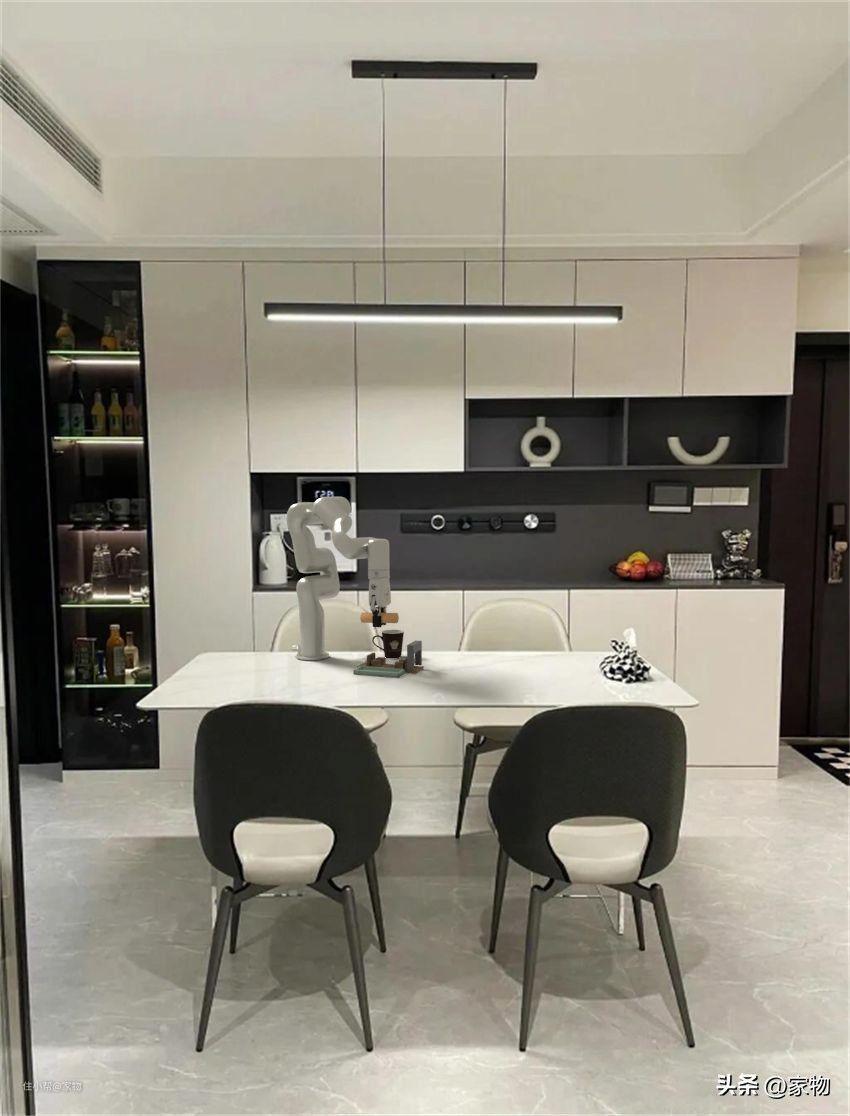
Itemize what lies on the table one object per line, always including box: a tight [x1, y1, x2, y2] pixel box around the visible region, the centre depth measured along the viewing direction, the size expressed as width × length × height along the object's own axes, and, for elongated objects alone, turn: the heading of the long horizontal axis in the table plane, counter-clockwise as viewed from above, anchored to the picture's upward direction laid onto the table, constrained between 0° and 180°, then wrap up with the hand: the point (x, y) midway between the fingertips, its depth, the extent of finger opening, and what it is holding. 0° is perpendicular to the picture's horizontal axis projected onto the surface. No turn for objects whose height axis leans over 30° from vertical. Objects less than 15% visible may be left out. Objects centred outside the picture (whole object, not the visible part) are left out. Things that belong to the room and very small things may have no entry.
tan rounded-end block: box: [359, 612, 400, 624], centre depth 275 cm, size 13×4×4 cm, turn 72°
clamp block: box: [356, 652, 425, 675], centre depth 283 cm, size 23×7×5 cm, turn 71°
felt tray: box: [352, 666, 406, 679], centre depth 276 cm, size 17×7×2 cm, turn 71°
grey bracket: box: [406, 640, 423, 670], centre depth 280 cm, size 2×9×9 cm, turn 161°
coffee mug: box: [371, 629, 405, 659], centre depth 304 cm, size 12×9×10 cm
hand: (379, 625), depth 275 cm, fingers closed on tan rounded-end block, 3 cm apart
